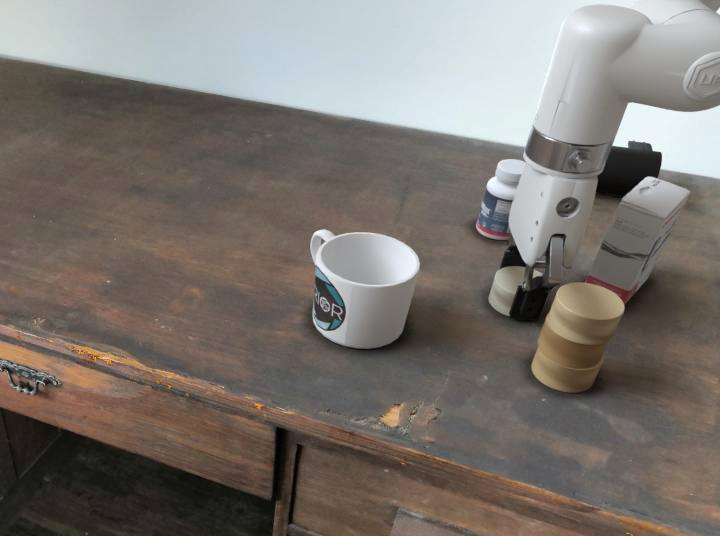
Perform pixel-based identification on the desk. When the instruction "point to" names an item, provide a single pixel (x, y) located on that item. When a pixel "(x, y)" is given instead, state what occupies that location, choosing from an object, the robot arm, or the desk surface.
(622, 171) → the end cap
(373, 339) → the mug
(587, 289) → the maple chip
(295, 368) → the desk surface
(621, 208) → the ink box
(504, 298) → the ash chip
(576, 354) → the chip pile
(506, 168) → the pill bottle
